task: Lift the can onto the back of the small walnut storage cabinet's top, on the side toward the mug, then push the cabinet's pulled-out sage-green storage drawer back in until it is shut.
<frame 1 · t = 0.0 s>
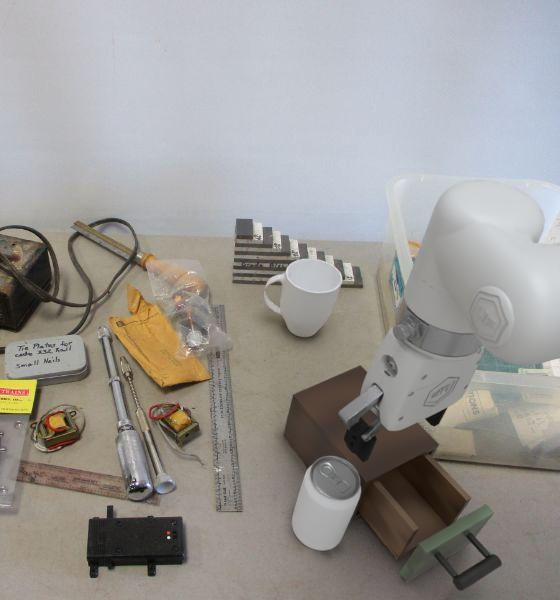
hand: (391, 432, 63), 19 cm above the worktop, tool pointing down, fingers open, 9 cm apart
mug: (293, 326, 102), on the worktop
drawer: (420, 514, 71), point 5 cm above the worktop, slide at 8.0 cm
cabinet: (347, 459, 82), on the worktop
can: (316, 527, 75), on the worktop
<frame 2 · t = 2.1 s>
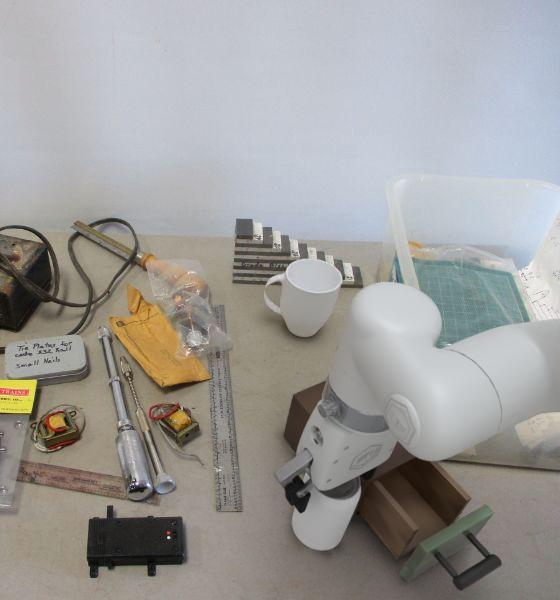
hand: (328, 484, 69), 10 cm above the worktop, tool pointing down, fingers open, 9 cm apart
nothing on the worktop moved.
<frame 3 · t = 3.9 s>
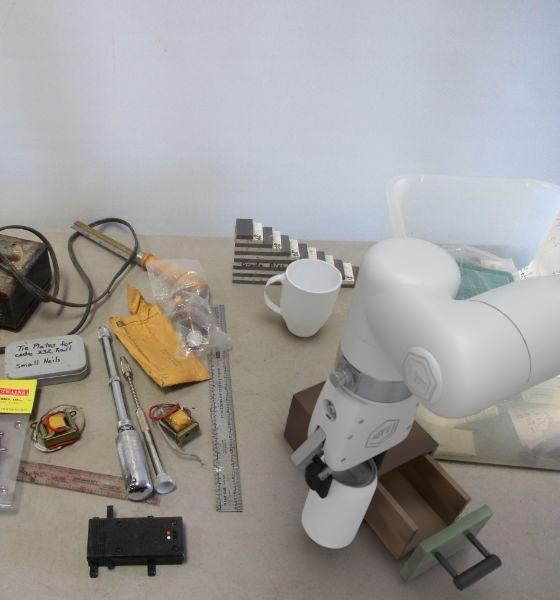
hand: (341, 473, 65), 14 cm above the worktop, tool pointing down, fingers closed on can, 6 cm apart
can: (327, 525, 71), point 4 cm above the worktop, touching gripper
everything else where it was.
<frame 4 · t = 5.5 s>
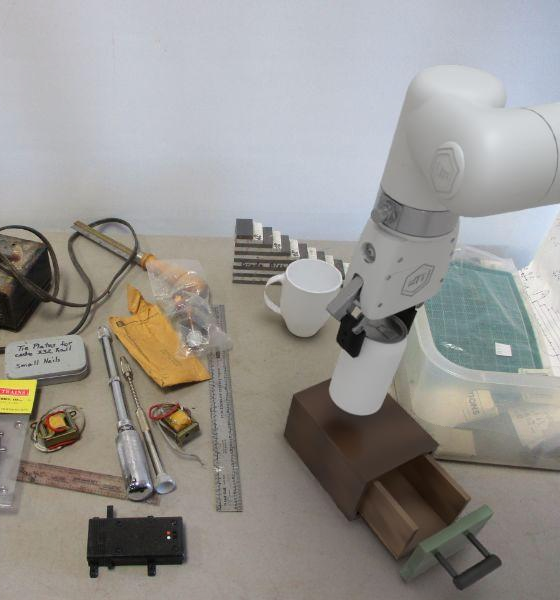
hand: (371, 337, 67), 24 cm above the worktop, tool pointing down, fingers closed on can, 6 cm apart
can: (354, 398, 73), point 14 cm above the worktop, touching gripper
everything else where it was.
when the fingers open (19 cm above the worktop, at t = 7.2 s): can stays where it is, resting on cabinet.
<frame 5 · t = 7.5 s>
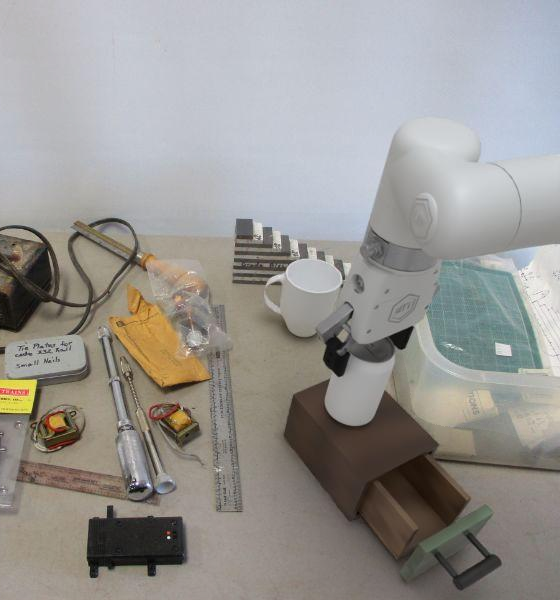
hand: (363, 354, 72), 19 cm above the worktop, tool pointing down, fingers open, 9 cm apart
can: (348, 408, 77), point 9 cm above the worktop, touching cabinet
everything else where it was.
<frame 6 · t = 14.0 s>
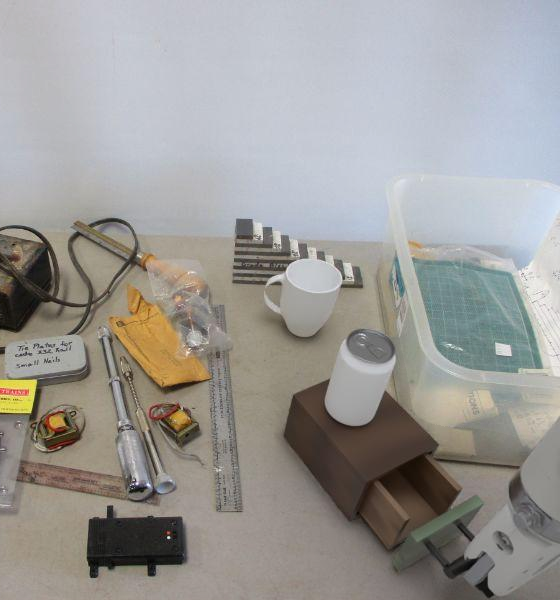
hand: (482, 582, 65), 5 cm above the worktop, tool pointing down, fingers closed
drawer: (412, 504, 72), point 5 cm above the worktop, slide at 6.6 cm, touching gripper
everything else where it was.
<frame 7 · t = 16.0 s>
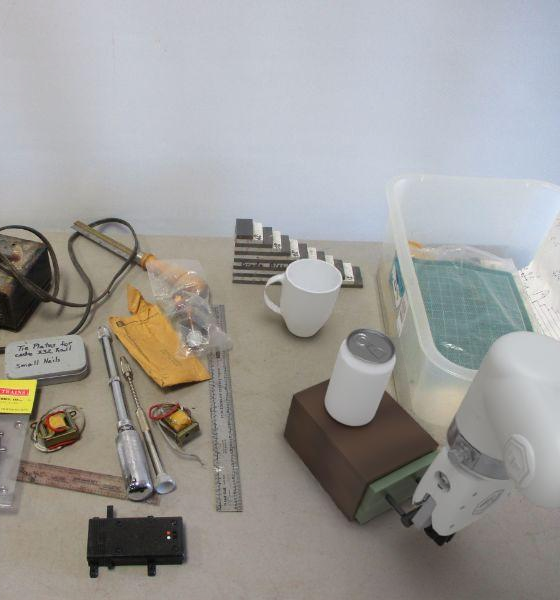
hand: (434, 533, 70), 4 cm above the worktop, tool pointing down, fingers closed
drawer: (374, 462, 77), point 5 cm above the worktop, slide at 0.0 cm, touching cabinet, gripper
everything else where it was.
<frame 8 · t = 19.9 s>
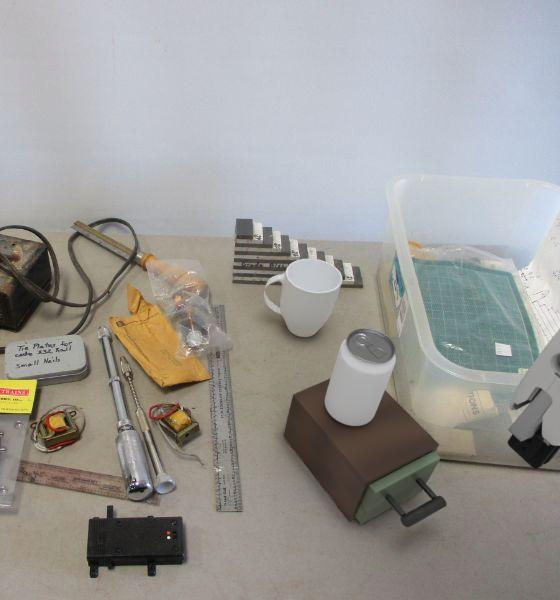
hand: (526, 453, 54), 25 cm above the worktop, tool pointing down, fingers closed
drawer: (374, 462, 77), point 5 cm above the worktop, slide at 0.0 cm, touching cabinet
everything else where it was.
at the end: can inside the target area on the cabinet (2.3 cm from its centre), point 9.4 cm above the cabinet's base; can inside the target area on the mug (0.9 cm from its centre), point 9.6 cm above the mug's base; drawer slide at 0.0 cm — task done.
